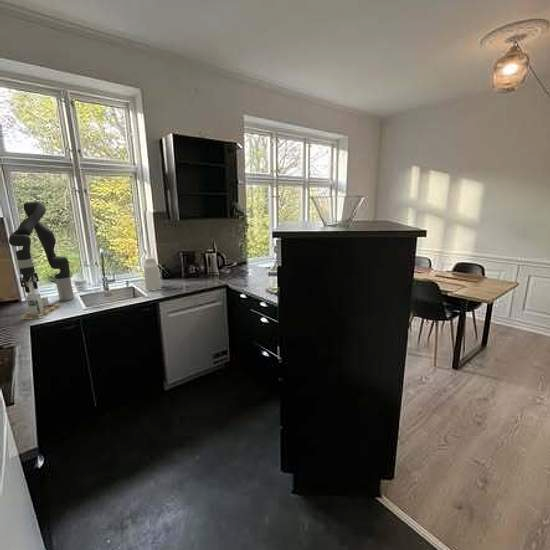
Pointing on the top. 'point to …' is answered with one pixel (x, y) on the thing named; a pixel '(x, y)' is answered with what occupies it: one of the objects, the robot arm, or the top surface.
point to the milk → (152, 274)
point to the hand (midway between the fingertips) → (32, 290)
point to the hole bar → (46, 311)
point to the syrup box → (34, 303)
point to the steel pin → (45, 302)
